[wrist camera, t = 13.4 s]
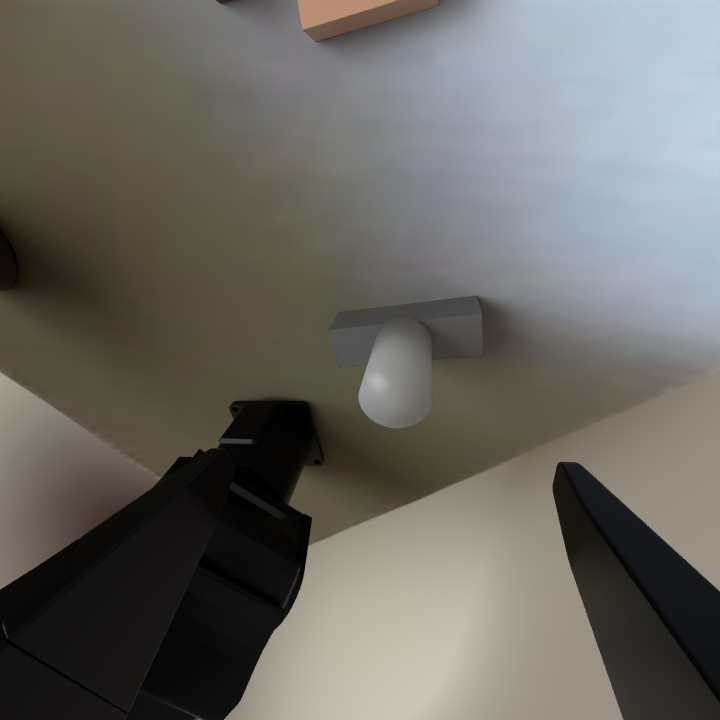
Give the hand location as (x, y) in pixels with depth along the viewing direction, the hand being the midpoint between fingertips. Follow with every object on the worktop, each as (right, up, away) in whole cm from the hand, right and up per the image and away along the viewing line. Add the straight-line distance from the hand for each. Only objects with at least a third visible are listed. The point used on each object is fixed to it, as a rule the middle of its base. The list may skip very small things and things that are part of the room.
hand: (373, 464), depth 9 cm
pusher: (+2, +5, +11) cm, 12 cm away
